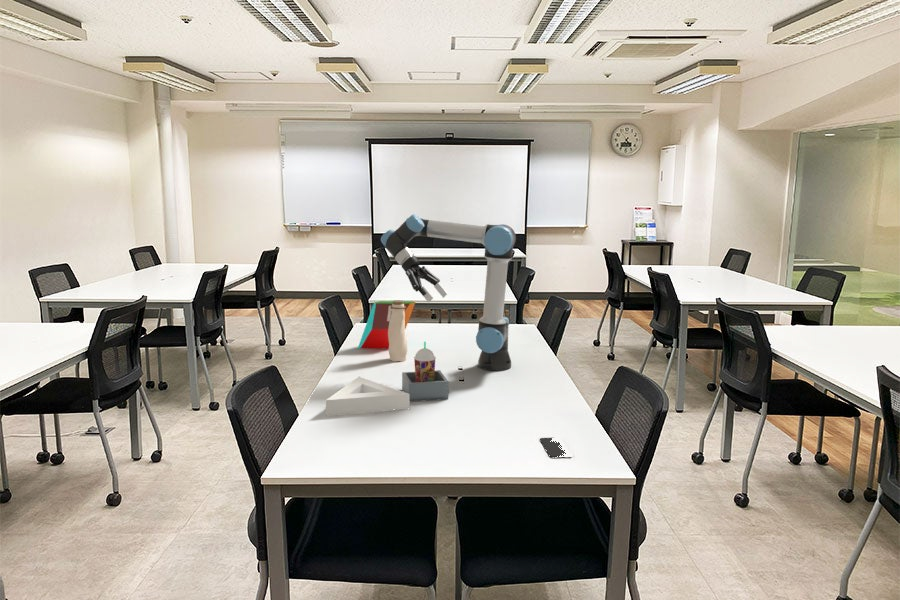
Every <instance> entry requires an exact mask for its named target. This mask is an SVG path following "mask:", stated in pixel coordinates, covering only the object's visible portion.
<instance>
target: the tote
mask: <svg viewBox="0 0 900 600" xmlns="http://www.w3.org/2000/svg"><path fill="white" fill-rule="evenodd" d="M401 373H402V374H401V376H402V378H401V379H402V380H401V382H402V383H401V384H402V386H401V389H402V390H401V391H402V392H405V393H408V394H409V401H411V402H422V401H421V400H426V401H438V400H437V399H441V400H448V399H449V379H447V378H446V376H445V375H444V373H442V372H441V370H440V369H438V370H435V373H434V381H431V382H416V378H415V371H406V372H405V371H402V372H401Z"/></svg>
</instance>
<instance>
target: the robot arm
mask: <svg viewBox="0 0 900 600" xmlns="http://www.w3.org/2000/svg"><path fill="white" fill-rule="evenodd" d="M419 236H420V237H429V238H437V239H443V240H452V241H459V242H460V241H462V242H468V243H476V244H482V245H483V246H484V258H485V259H486V260H487V264H486V265H487V267H486V276H485V289H484V298H483V299H484V302H483V313H482V316H481V317H480V318H479V319H478V328H477V332H476V336H475V342H476V345H477V347H478V348H479V349H480V351H481V352H480V355H479V357H478V361H477V366H478V368H480V369H483V370H487V371H505V370H509V369H511V367H512V360H511V356H510V353H509V325H510V322H509V317H506V316H504V311H505V310H504V309H505V302H506V301H505V299H506V287H507V278H508V277H507V276H508V265H509V262H511V260H512V259H513V252H514V246H515V243H516V242H517V241H516V240H517V235H516V232H515V230H514V229H513V228H512V227H511V226H509V225H507V224H490V223H489V224H486V225H476V224H469V223H468V224H467V223H460V222H451V221H450V222H449V221H440V220H432V219H425V218H420V217H419V216H418V215H416V214H411V215H410V216H409V217H407V218H406V220H405V221H404V222H402V224H401V225H399V227H398V228H397V229H395V230H393V229H388V230H387V231H386V232H384V233H383V234H382V236H381V238H380V242H381V244H383V246H384V247H385V248H384V249H386V250H387V251H388V253H390V254H391V256H392V257H393V259H395V261H396V262H397V263H396V264H399V266H401V268H402V270H403V271H404V272H405V275H406V277H407V278H408V280H409V282H410V284H411V285H410V286H411V287H412V289H413V291H415V292H417V293H418V292H419V293H420V295H422V297H423V298H424V299H425V300H426V301H427V303H430V302H431V301H432V300H433V299H434V297H433V296H432V295H431V294H430V292H429V291H428V289H426V288H425V286H423V285H422V280H425V281H427V282H428V283H430V284H431V285H432V286H433V287H434V289H435V290H436V291H437V292H438V294H439V295H440V296H441V297H442V299H444V298H446V296H447V295H448V294H449V293H448V292H447V291H446V289H445V288H444V287H443V286H442V284H441V283H440V282H441V280H440V279H439V278H438V277H437V276H436V275H435V274H433V273H432V272H431V271H430V270H429V269H428V268H426V266H424V265H423V266H420V260H419V259H418V257H416V256H415V254H414V253H413V251H412V250H410V248H409V247H408V246H407V244H409V242H411V240H412V239H414V237H419ZM421 279H422V280H421Z"/></svg>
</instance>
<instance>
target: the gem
mask: <svg viewBox="0 0 900 600" xmlns="http://www.w3.org/2000/svg"><path fill="white" fill-rule="evenodd" d="M393 301H394V300H392V301H391V300H388V301H386V300H385V301H383V300H382V301H374V302H373V304H372V307H371V310H370V313H369V315H368V319H367V321H366V324H365V328H364V330H363V332H362V334H361V335H362V336H361V338H360V341H359V343H358V346H357V347H358V349H360V348H366V349H389V339H388V328H389V322H390V321H387V318H388V309H389V306H392V304H393ZM402 301H403V304H404V306H406V308H404V312H405V330H406V329H407V326H408V323H409V320H410V317H411V315H412V312H413V309H414V307H415V305H416V301H413V300H411V301H410V300H407V301H406V300H402Z"/></svg>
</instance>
